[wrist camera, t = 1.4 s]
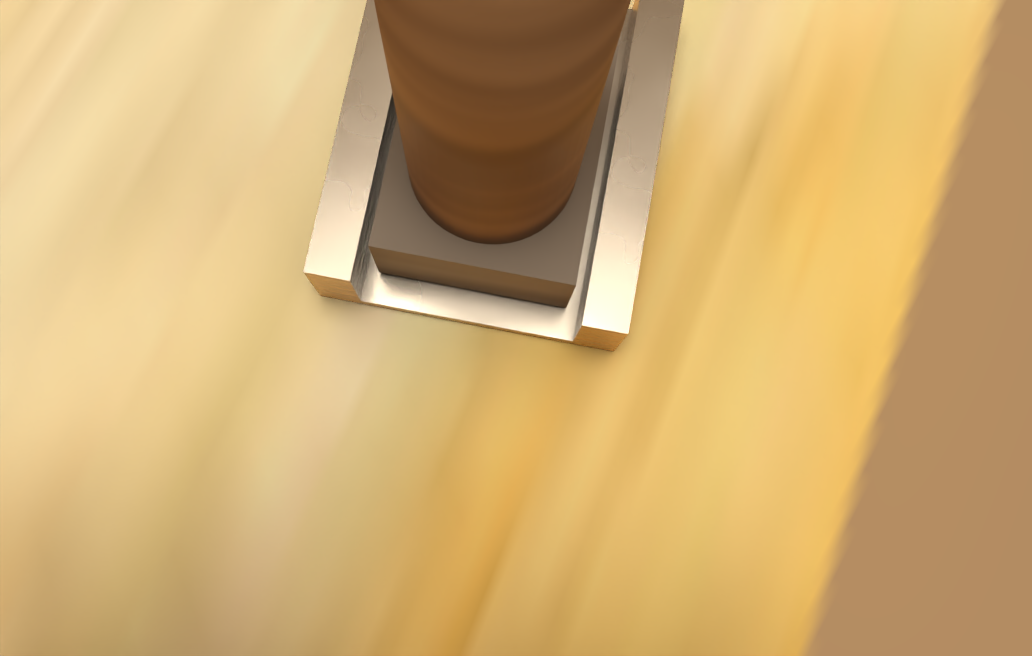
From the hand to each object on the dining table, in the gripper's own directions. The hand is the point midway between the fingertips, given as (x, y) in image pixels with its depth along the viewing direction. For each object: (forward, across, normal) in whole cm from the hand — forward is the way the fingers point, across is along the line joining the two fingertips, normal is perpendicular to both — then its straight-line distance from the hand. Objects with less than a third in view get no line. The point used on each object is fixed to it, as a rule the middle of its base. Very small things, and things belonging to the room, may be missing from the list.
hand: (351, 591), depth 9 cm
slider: (+15, 0, +3) cm, 16 cm away
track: (+16, 0, +2) cm, 16 cm away
